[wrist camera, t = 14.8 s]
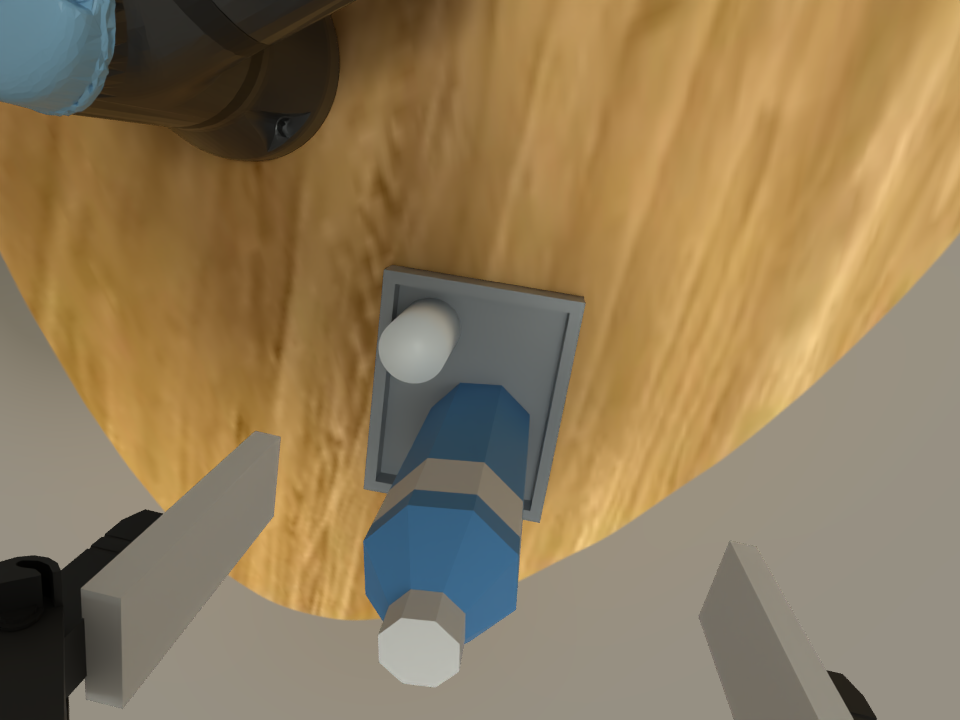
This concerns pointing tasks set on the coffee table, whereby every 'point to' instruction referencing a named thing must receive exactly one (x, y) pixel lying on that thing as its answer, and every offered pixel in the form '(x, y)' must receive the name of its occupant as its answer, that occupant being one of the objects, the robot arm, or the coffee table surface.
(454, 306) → the tray
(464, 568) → the water bottle
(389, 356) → the white rounded column
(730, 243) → the coffee table surface
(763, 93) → the coffee table surface
